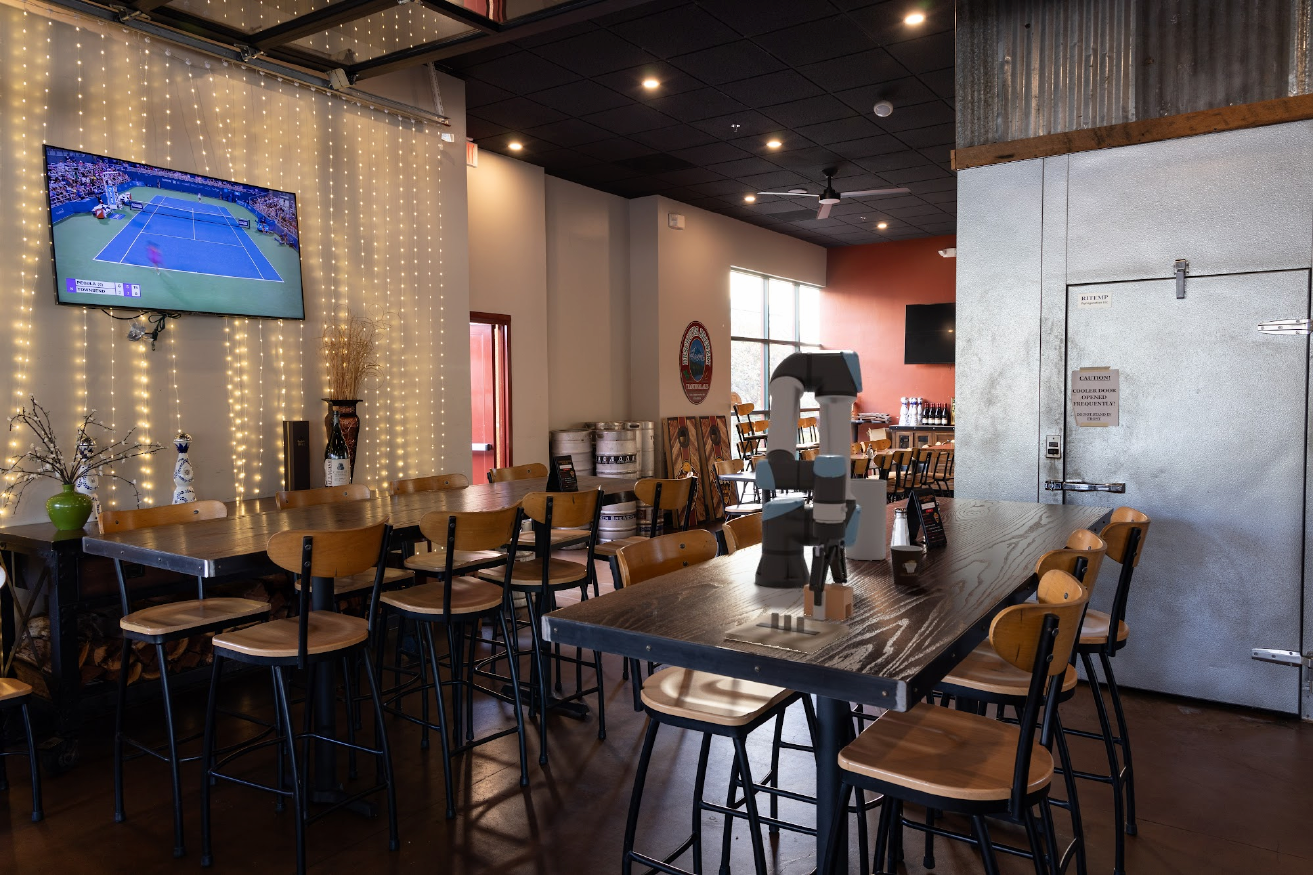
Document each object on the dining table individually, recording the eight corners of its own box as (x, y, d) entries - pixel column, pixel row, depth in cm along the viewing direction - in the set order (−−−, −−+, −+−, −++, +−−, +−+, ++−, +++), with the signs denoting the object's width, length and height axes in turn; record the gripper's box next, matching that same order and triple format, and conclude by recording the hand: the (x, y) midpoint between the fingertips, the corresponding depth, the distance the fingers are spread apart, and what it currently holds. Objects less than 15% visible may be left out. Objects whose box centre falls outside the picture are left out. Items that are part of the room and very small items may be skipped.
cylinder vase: (842, 554, 289) (843, 478, 288) (880, 554, 289) (881, 478, 288) (849, 561, 277) (850, 482, 275) (889, 561, 276) (890, 482, 275)
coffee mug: (887, 585, 241) (888, 549, 241) (891, 579, 249) (892, 544, 249) (932, 589, 237) (932, 552, 236) (934, 582, 245) (935, 547, 244)
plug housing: (803, 615, 208) (803, 585, 208) (813, 610, 213) (813, 581, 213) (843, 621, 203) (844, 591, 202) (852, 616, 207) (853, 586, 207)
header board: (724, 639, 187) (724, 618, 187) (766, 619, 203) (767, 600, 203) (811, 654, 176) (811, 632, 175) (849, 632, 192) (849, 612, 192)
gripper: (825, 527, 195) (823, 626, 196) (862, 516, 214) (860, 607, 215) (794, 524, 200) (793, 622, 201) (833, 514, 218) (831, 603, 219)
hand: (828, 614), depth 208 cm, fingers open, 10 cm apart
